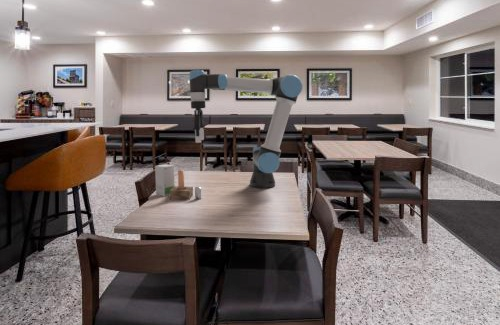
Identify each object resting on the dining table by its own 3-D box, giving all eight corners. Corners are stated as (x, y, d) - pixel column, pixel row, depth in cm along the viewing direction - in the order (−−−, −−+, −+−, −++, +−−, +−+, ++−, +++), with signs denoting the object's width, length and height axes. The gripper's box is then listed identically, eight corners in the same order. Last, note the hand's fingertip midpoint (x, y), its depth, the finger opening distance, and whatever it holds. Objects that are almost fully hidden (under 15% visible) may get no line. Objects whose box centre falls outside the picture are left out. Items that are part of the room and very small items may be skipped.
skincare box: (164, 196, 190) (163, 167, 188) (155, 194, 194) (154, 165, 191) (175, 193, 197) (174, 164, 195) (166, 191, 201) (165, 163, 198)
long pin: (185, 196, 191) (184, 170, 189) (183, 197, 188) (183, 171, 186) (179, 196, 191) (178, 169, 189) (178, 197, 188) (177, 171, 186)
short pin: (201, 198, 188) (201, 186, 187) (200, 199, 185) (200, 188, 184) (195, 198, 188) (195, 186, 187) (194, 199, 185) (194, 188, 184)
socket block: (193, 194, 194) (192, 186, 193) (189, 199, 184) (189, 191, 184) (174, 194, 194) (174, 186, 194) (169, 199, 185) (169, 190, 184)
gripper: (194, 101, 204) (196, 139, 208) (187, 100, 180) (189, 143, 183) (207, 100, 204) (209, 138, 208) (202, 100, 180) (204, 143, 183)
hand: (199, 141), depth 196 cm, fingers open, 13 cm apart
